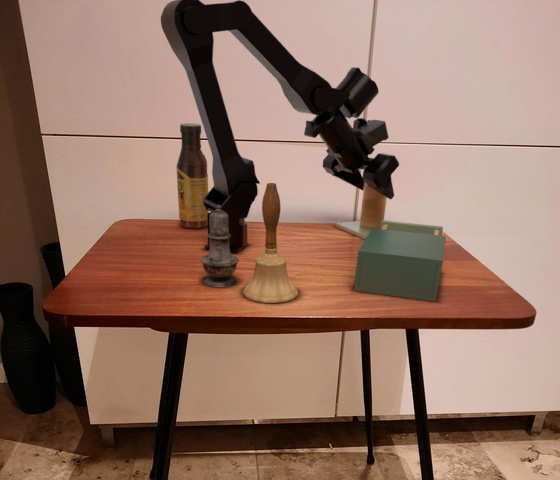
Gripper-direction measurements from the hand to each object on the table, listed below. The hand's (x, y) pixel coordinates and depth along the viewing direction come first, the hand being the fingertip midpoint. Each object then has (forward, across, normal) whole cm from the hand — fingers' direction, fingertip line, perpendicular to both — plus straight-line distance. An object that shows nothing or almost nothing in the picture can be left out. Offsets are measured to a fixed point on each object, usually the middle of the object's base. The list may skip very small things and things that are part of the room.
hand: (378, 193), depth 114 cm
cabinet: (-6, -28, +17) cm, 34 cm away
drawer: (0, -19, +10) cm, 22 cm away
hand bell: (-21, -25, +33) cm, 46 cm away
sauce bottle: (-19, +17, +30) cm, 39 cm away
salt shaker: (-25, -17, +36) cm, 47 cm away
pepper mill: (+4, 0, +6) cm, 7 cm away
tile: (+5, 0, +6) cm, 8 cm away
